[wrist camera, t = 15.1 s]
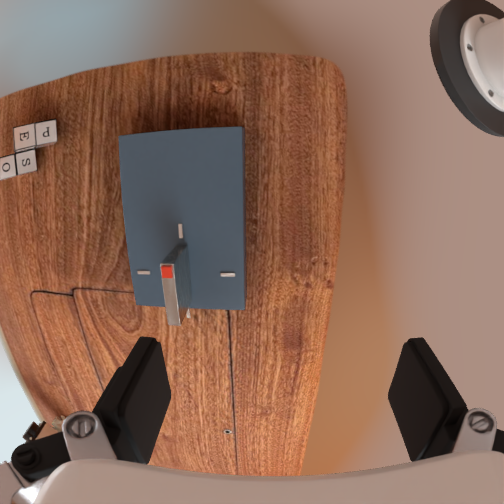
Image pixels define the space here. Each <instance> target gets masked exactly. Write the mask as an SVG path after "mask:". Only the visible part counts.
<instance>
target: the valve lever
mask: <svg viewBox="0 0 504 504" xmlns="http://www.w3.org/2000/svg"><path fill="white" fill-rule="evenodd" d="M160 267H161V276H162V284H163V292H164V299H165V306H166V313H167V320H168V325H176V326H181V324H182V321H183V319H184V317H185V315H186V313H187V311H188V308H189V306H190V304H191V302H192V292H191V281H190V269H189V256H188V245H176V246H175V247H174V248H173V249H172V250H171V252H170V253H169V254H168V255H167V256H166V257H165V259H164V260H163V261H162V262H161V263H160Z"/></svg>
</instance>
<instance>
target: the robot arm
mask: <svg viewBox="0 0 504 504" xmlns="http://www.w3.org/2000/svg"><path fill="white" fill-rule="evenodd" d="M460 48H461V54H462V58H463V61H464V65H465V67H466V69H467V72H468V74H469V76H470V78H471V80H472V82H473V84H474V85H475V87H476V88H477V90H478V91H479V93H480V94H481V95H482V96H483V97H484V98H485V100H486V101H487V102H489V103H490V104H491V105H492V106H493V107H495V108H496V109H498V110H499V111H502V112H504V18H502V19H500V20H499V19H497V18H495V17H493V16H490V15H486V14H479V15H475V16H473V17H471V18H469V19H468V20H467V21H466V22H465V23H464V25H463V27H462V29H461V34H460ZM388 399H389V402H390V405H391V408H392V410H393V413H394V415H395V418H396V421H397V423H398V426H399V429H400V431H401V434H402V437H403V440H404V443H405V446H406V448H407V451H408V454H409V457H410V460H411V461H412V462H409V463H404V464H399V465H393V466H388V467H382V468H376V469H370V470H362V471H354V472H345V473H335V474H324V475H306V476H243V475H226V474H214V473H203V472H195V471H187V470H179V469H171V468H165V467H158V466H153V465H147V464H148V463H149V461H150V458H151V455H152V452H153V449H154V446H155V443H156V440H157V437H158V434H159V431H160V429H161V426H162V423H163V420H164V417H165V414H166V411H167V408H168V406H169V403H170V400H171V390H170V385H169V381H168V376H167V372H166V367H165V362H164V357H163V352H162V347H161V343H160V342H157V341H156V339H155V338H152V337H140V338H139V339H138V341H137V343H136V344H135V346H134V348H133V349H132V351H131V353H130V354H129V356H128V358H127V359H126V361H125V363H124V364H123V366H122V367H119V368H118V369H117V370H116V372H115V373H114V375H113V377H112V379H111V380H110V382H109V384H108V385H107V387H106V389H105V390H104V392H103V394H102V395H101V397H100V399H99V401H98V402H97V404H96V406H95V408H94V409H93V411H92V412H89V411H77V412H74V413H72V414H70V415H69V416H67V417H66V419H65V420H64V421H63V424H62V431H61V432H58V433H55V434H52V435H49V436H46V437H43V438H40V439H37V440H34V441H31V442H27V443H25V444H22V445H20V446H18V447H17V448H16V449H15V450H14V452H13V453H12V457H11V462H9V463H7V462H6V461H4V462H2V463H1V464H0V504H504V431H501V430H499V429H497V421H496V418H495V417H494V415H493V414H492V413H491V412H489V411H488V410H485V409H481V408H474V409H471V410H468V409H467V407H466V406H467V405H466V403H465V402H464V400H463V399H462V397H461V395H460V394H459V392H458V390H457V389H456V387H455V385H454V384H453V382H452V381H451V379H450V377H449V376H448V374H447V373H446V371H445V370H444V368H443V366H442V365H441V363H440V362H439V361H438V359H437V357H436V356H435V354H434V353H433V351H432V350H431V348H430V347H429V345H428V344H427V342H426V341H425V339H424V338H410V339H409V340H408V341H407V342H406V343H404V345H403V348H402V352H401V355H400V358H399V362H398V365H397V368H396V371H395V374H394V377H393V380H392V383H391V386H390V389H389V392H388Z"/></svg>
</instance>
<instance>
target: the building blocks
mask: <svg viewBox="0 0 504 504" xmlns="http://www.w3.org/2000/svg"><path fill="white" fill-rule="evenodd" d="M13 141H14V152H15V153H14V154H10V155H7V156H3V157H0V181H2V180H6V179H9V178H13V177H16V176H20V175H24V174H28V173H31V172H35V171H37V164H36V155H35V148H39V147H44V146H48V145H53V144H56V142H57V141H58V140H57V126H56V119H51V120H46V121H41V122H36V123H31V124H26V125H22V126H18V127H13Z"/></svg>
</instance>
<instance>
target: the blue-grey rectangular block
mask: <svg viewBox="0 0 504 504" xmlns="http://www.w3.org/2000/svg"><path fill="white" fill-rule="evenodd" d="M119 158H120V176H121V190H122V202H123V213H124V223H125V232H126V240H127V248H128V256H129V263H130V269H131V276H132V282H133V288H134V294H135V300H136V305H144V306H160V307H166V306H165V299H164V292H163V284H162V276H161V267H160V263H161V262H162V261H163V260H164V259H165V257H166V256H167V255H168V254H169V253H170V252H171V250H172V249H173V248H174V247H175V246H176V245H188V256H189V269H190V281H191V292H192V302H191V304H190V306H189V308H188V311H187V318H190V308H199V309H226V310H245V305H246V298H247V283H246V203H245V128H243V127H211V128H193V129H179V130H166V131H156V132H146V133H137V134H129V135H121V136H119Z"/></svg>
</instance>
